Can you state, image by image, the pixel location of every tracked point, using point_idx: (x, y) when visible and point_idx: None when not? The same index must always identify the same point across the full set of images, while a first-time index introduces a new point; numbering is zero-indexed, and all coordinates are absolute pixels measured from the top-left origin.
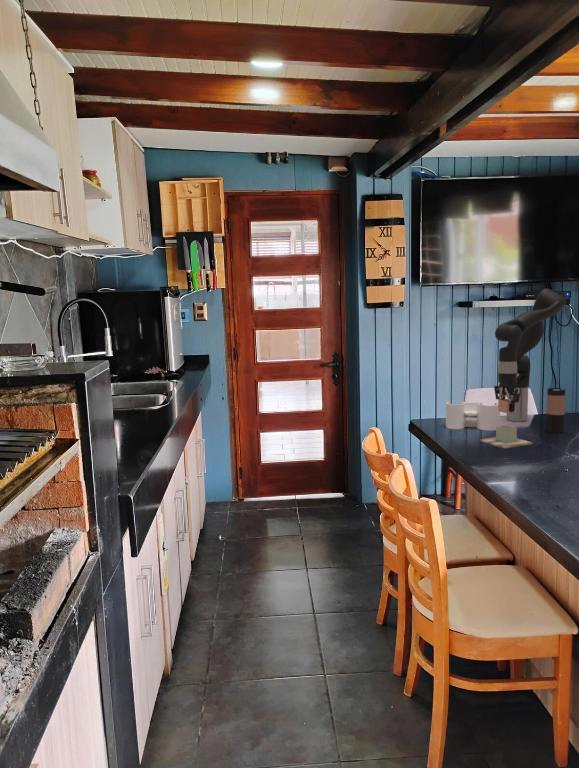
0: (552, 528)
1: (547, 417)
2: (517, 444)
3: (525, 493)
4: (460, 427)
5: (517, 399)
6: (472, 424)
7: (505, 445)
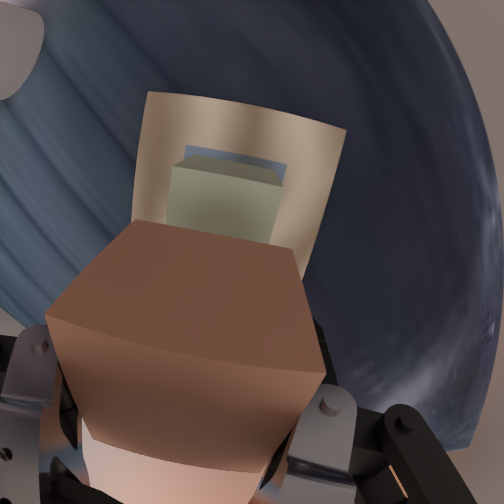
0: (459, 445)
1: None
2: (316, 225)
3: (436, 434)
4: None
5: (409, 451)
6: None
7: None
